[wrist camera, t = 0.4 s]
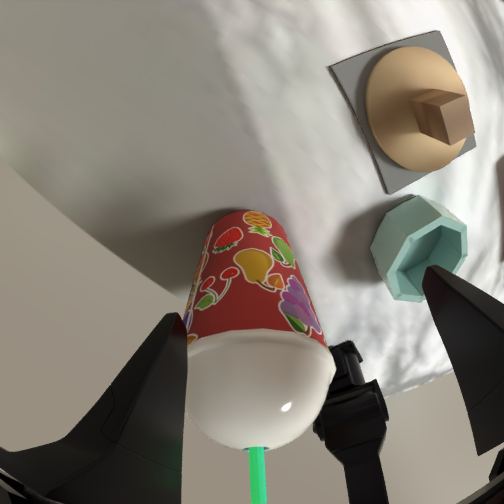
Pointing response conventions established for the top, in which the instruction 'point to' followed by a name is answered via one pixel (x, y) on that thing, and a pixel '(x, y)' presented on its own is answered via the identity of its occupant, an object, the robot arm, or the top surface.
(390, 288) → the bowl
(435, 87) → the lid
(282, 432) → the smoothie
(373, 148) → the mat
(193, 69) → the top surface
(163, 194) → the top surface
